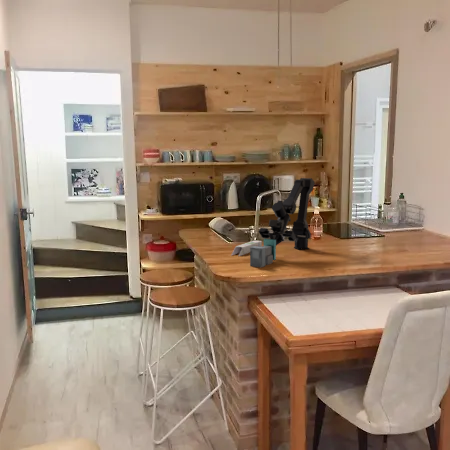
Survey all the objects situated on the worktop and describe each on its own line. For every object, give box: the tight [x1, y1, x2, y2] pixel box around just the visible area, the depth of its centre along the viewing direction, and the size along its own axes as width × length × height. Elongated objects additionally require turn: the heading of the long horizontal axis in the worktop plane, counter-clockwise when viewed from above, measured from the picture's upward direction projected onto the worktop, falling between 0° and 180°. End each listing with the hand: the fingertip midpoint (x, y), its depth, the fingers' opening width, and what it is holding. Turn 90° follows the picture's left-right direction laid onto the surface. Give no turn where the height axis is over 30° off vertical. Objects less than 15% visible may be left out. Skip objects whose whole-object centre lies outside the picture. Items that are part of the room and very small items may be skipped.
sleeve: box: [262, 245, 274, 266], centre depth 244 cm, size 6×6×8 cm
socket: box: [249, 246, 266, 268], centre depth 238 cm, size 4×6×9 cm, turn 56°
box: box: [230, 240, 263, 257], centre depth 270 cm, size 4×4×28 cm
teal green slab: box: [263, 238, 277, 261], centre depth 243 cm, size 13×6×10 cm, turn 146°
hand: (271, 247), depth 249 cm, fingers closed
